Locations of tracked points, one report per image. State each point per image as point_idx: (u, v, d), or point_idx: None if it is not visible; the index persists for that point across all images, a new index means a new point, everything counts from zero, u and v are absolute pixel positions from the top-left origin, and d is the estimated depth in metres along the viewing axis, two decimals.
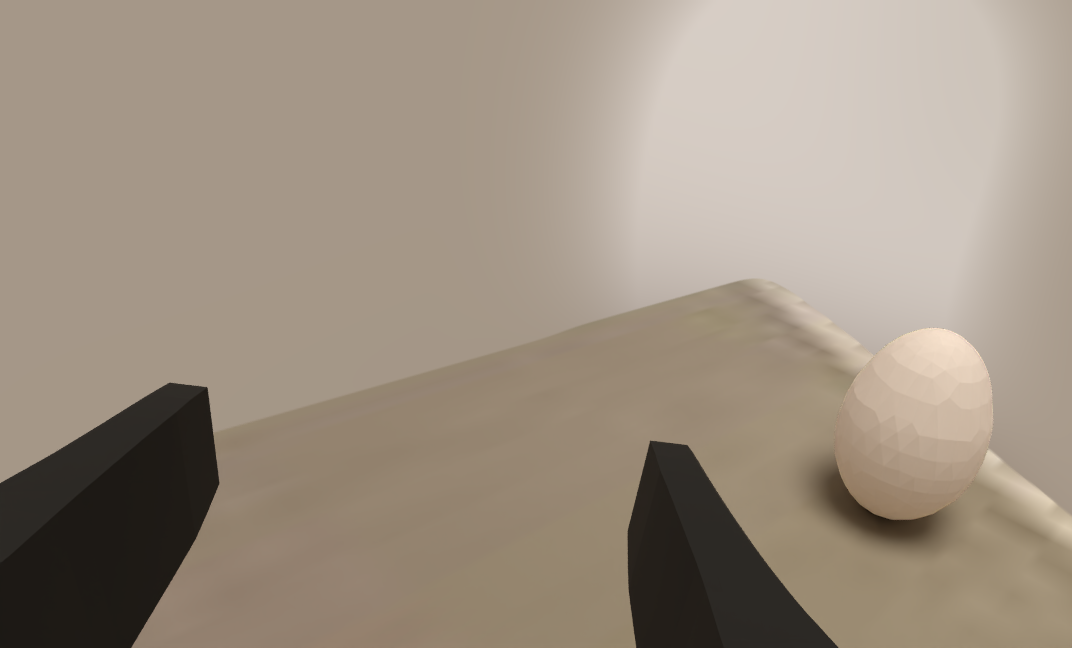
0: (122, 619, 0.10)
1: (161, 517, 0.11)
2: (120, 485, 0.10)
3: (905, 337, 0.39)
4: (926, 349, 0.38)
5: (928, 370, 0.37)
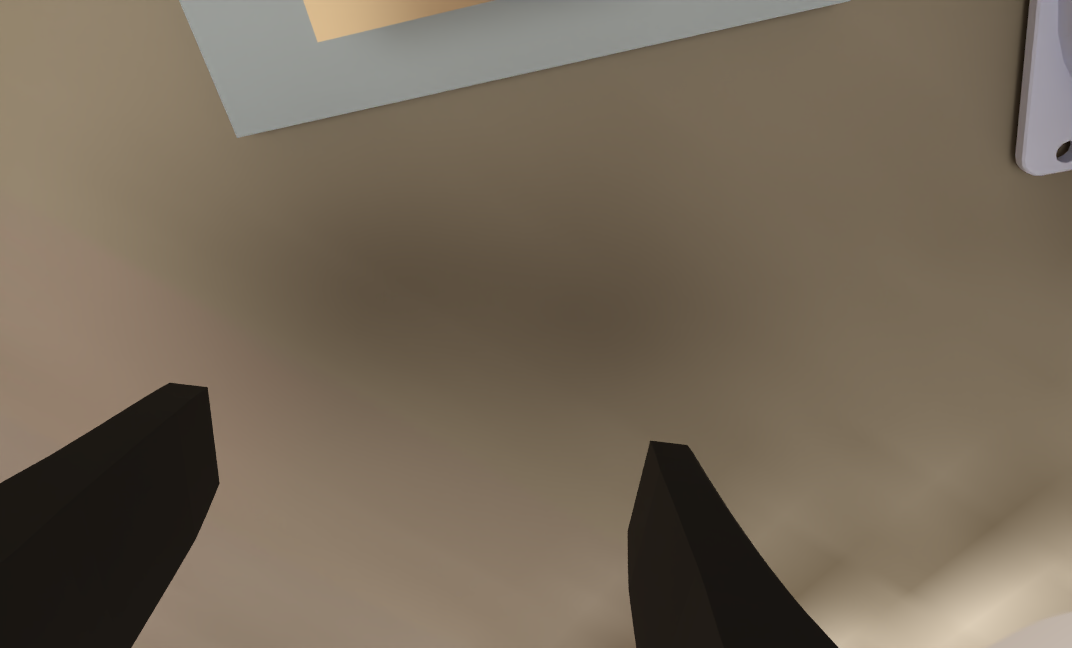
0: (122, 619, 0.10)
1: (161, 517, 0.11)
2: (120, 485, 0.10)
3: None
4: None
5: None
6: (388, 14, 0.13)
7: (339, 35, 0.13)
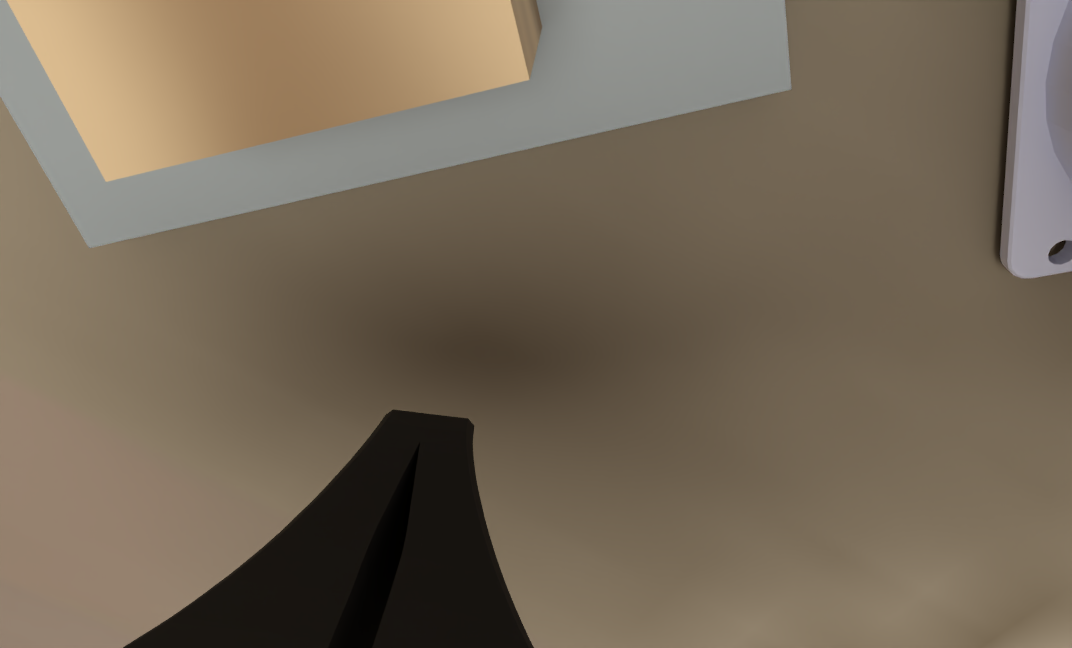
0: None
1: (403, 545, 0.11)
2: (391, 517, 0.10)
3: None
4: None
5: None
6: (186, 149, 0.10)
7: (130, 174, 0.10)
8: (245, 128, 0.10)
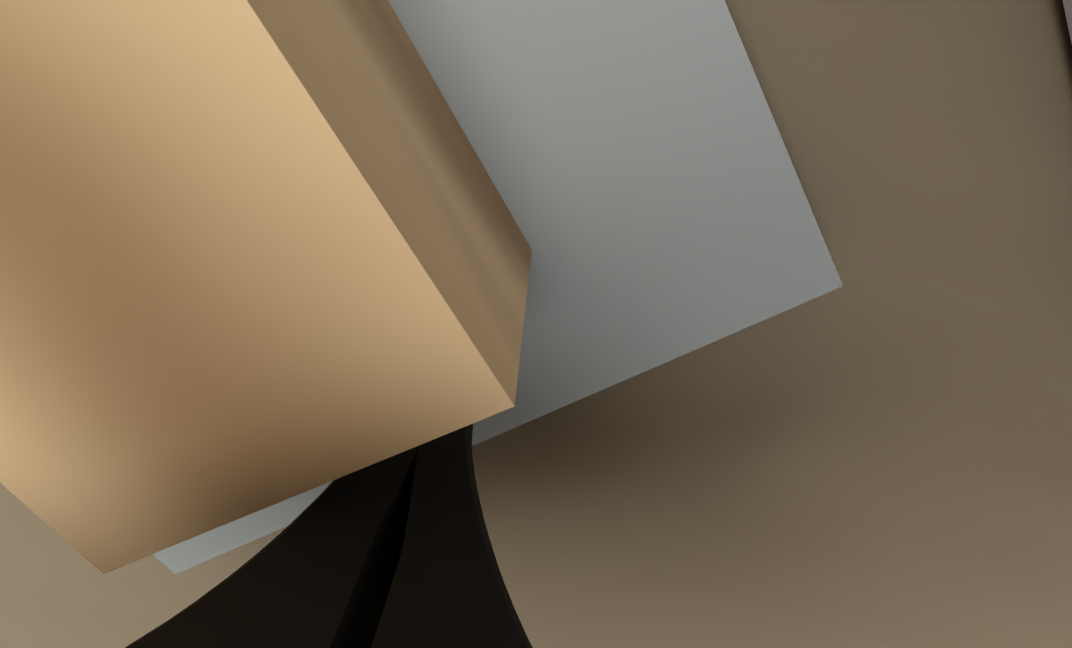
0: None
1: None
2: (393, 517, 0.10)
3: None
4: None
5: None
6: (173, 532, 0.09)
7: (125, 563, 0.10)
8: (224, 505, 0.09)
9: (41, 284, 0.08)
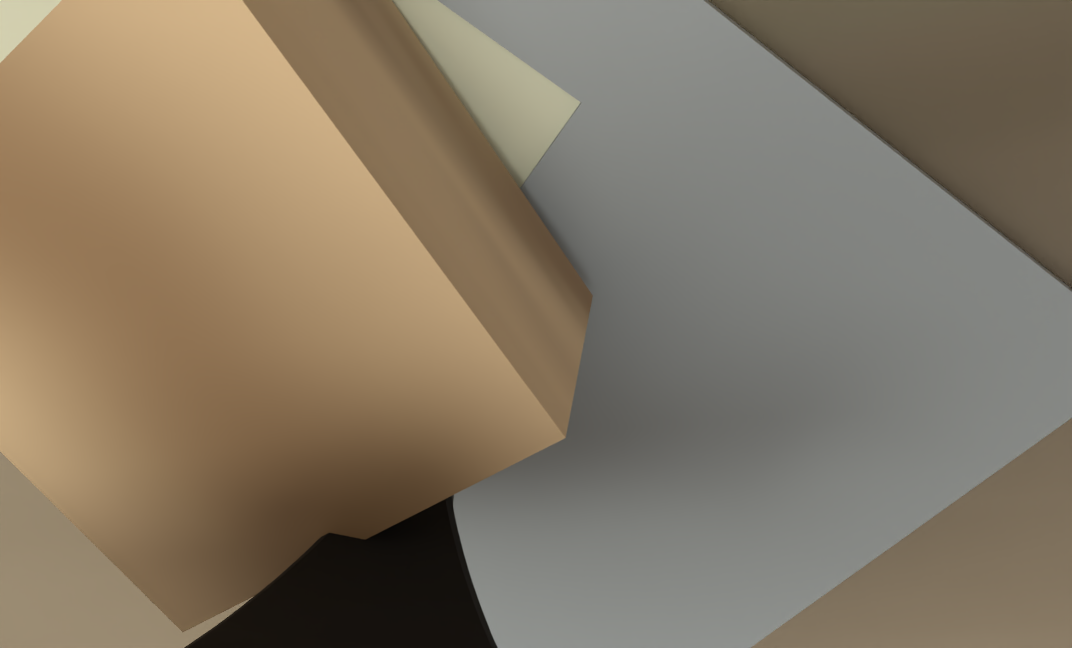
0: None
1: None
2: None
3: None
4: None
5: None
6: (244, 586, 0.09)
7: (201, 620, 0.10)
8: (291, 556, 0.09)
9: (117, 338, 0.08)
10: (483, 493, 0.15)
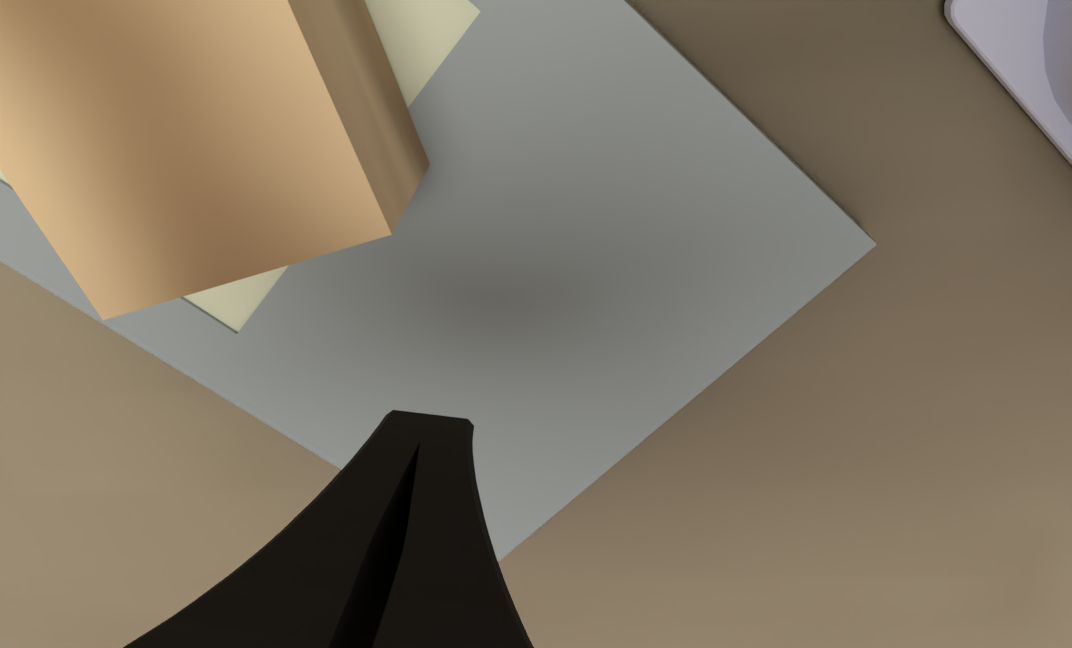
0: None
1: (403, 545, 0.11)
2: (392, 517, 0.10)
3: None
4: None
5: None
6: (158, 294, 0.14)
7: (119, 314, 0.14)
8: (197, 278, 0.14)
9: (111, 107, 0.12)
10: (391, 328, 0.19)
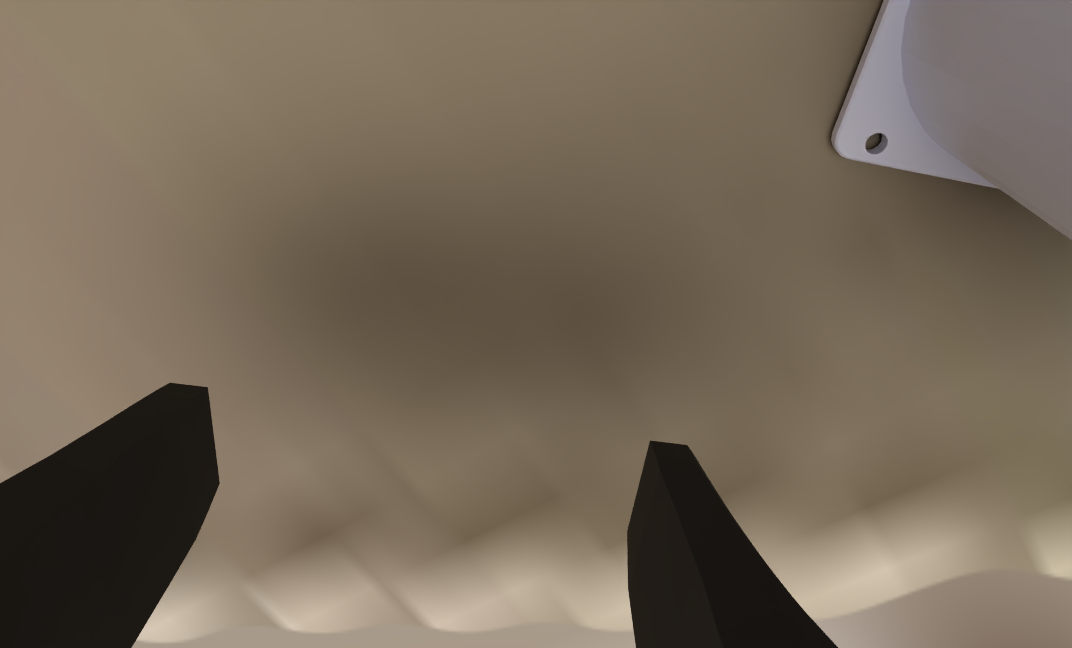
0: (122, 619, 0.10)
1: (161, 517, 0.11)
2: (120, 485, 0.10)
3: None
4: None
5: None
6: None
7: None
8: None
9: None
10: None
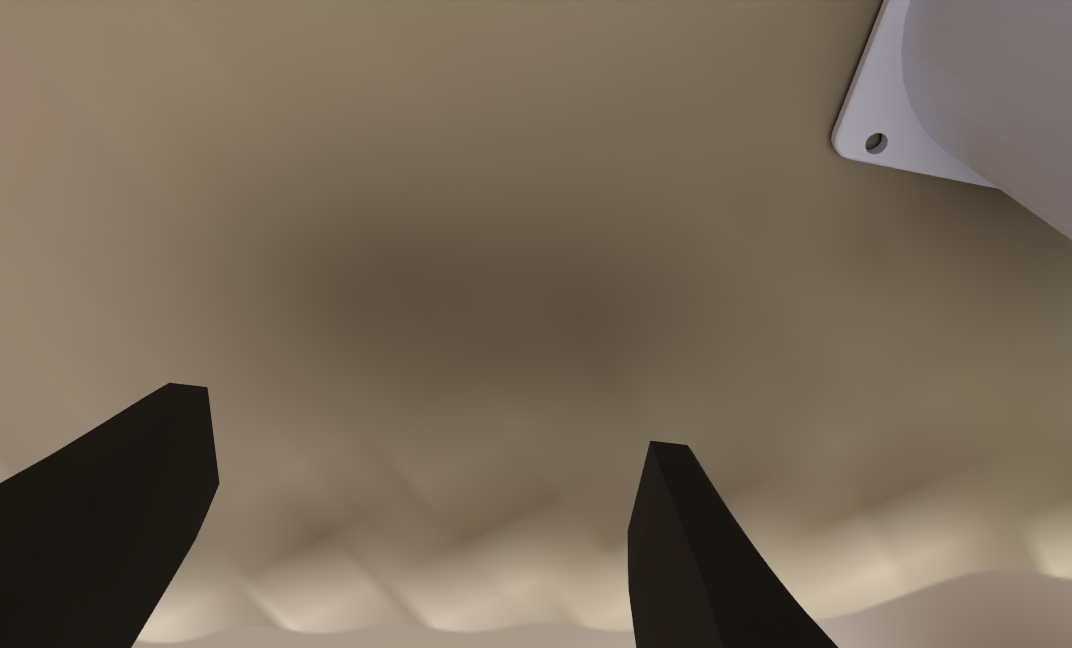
0: (122, 619, 0.10)
1: (161, 517, 0.11)
2: (120, 485, 0.10)
3: None
4: None
5: None
6: None
7: None
8: None
9: None
10: None
